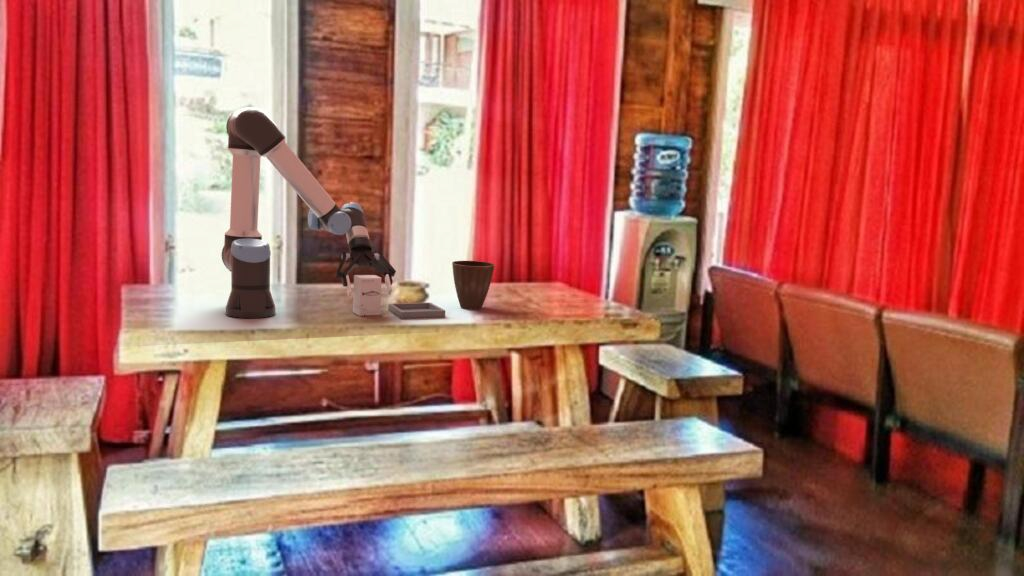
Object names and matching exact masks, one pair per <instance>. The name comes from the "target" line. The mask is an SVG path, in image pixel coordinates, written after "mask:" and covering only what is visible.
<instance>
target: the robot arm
mask: <svg viewBox="0 0 1024 576" xmlns="http://www.w3.org/2000/svg"><path fill="white" fill-rule="evenodd" d="M225 126H226V128H225V129H226V133H227V136H228V137H227V139H228V140H227V144H228V145H227V150H228V151H229V152H230V153H231V155H232V163H231V164H232V165H231V166H232V168H231V189H230V191H231V194H230V215H229V216H230V217H229V218H230V219H229V220H230V221H229V229H228V230H227V231H226V232H224V243H223V244H224V245H223V248H222V249H221V261H222V263H223V265H224V267H225V268H226V269H227V270H228V271H229V272H230V273H231V276H230V277H231V279H230V280H231V284H230V285H231V290H230V293H229V296H228V300H227V301H226V305H225V315H226V314H227V315H226V316H228V315H229V316H228V317H231V316H233V317H232V318H237V317H239V319H261V318H268V317H271V316H272V317H273V316H274V315H276V304H275V301H274V298H273V296H272V293H271V256H272V255H271V247H270V243H268V242H267V241H265V240H263V235H262V234H261V233H260V231H259V230H258V225H259V223H258V221H259V202H260V201H259V199H260V176H261V175H260V174H261V157H265V158H267V160H268V161H269V163H270V164H272V166H273V167H274V168H275V169H276V170H277V171H278V173H279V174H280V175H281V176H282V177H283V178H284V180H285V181H286V182H287V183H288V185H289V186H290V188H291V189H293V190H294V191H295V193H296V194H297V195H298V196H299V197H300V199H301V200H302V201H303V202H304V203H305V204H306V206H307V207H308V208H309V211H308V213H307V225H308V228H309V229H310V230H316V231H326V232H329V233H331V234H333V235H338V236H339V235H345V236H346V241H347V246H348V250H349V251H348V252H349V253H347V252H346V251H342V253H341V255H340V258H341V260H340V262H339V266H338V267H337V269H336V273H335V278H336V279H338V278H339V279H340V281H341V284H342V286H343V287H345V288H346V293H347V296H348V297H350V296H351V295H352V291H353V289H352V285H351V280H350V277H349V274H350V273H351V271H352V270H353V269H354V268H355V267H356V266H358V267H362V266H365V267H367V266H369V267H370V268H374V269H375V270H376V271H378V272H379V273H380V274H381V275H383V276H384V283H385V286H386V292H387V295H389V296H390V295H391V294H392V292H393V289H392V288H393V287H392V285H393V284H394V283H393V277H395V275H396V273H397V271H396V269H395V268H394V267H393V265H392V264H391V263H390V262H389V260H387V259H386V257H385V256H384V255H383V254H384V253H383V252H382V251H381V250H379V251H378V252H376V253H374V251H373V248H372V244H371V240H370V235H369V231H368V228H367V223H366V218H365V213H364V210H363V208H362V206H361V205H360V204H359V203H356V202H349V203H346V204H343V206H342V207H341V208H340V207H339V205H337V203H336V202H335V201H334V199H333V198H332V197H331V196H330V194H328V192H327V191H326V190H325V188H324V187H323V186H322V185H321V183H320V182H319V181H318V180H317V179H316V178H315V176H314V175H313V174H312V172H311V171H310V170H309V169H308V168H307V167H306V165H305V164H304V163H303V162H302V161H301V159H300V158H299V157H298V156H297V155H296V154H295V152H294V151H293V150H292V148H291V147H290V146H289V145H288V144H287V142H286V136H285V135H284V134H283V132H282V131H281V129H279V127H278V125H277V124H276V123H275V122H274V121H273V119H272V118H271V116H270V115H269V114H268V113H267V112H266V111H265V110H263V109H261V108H258V107H253V106H251V107H250V106H249V107H242V108H239V109H237V110H235V111H233V112H232V113H231V114H230V115H229V117H228V119H227V121H226V125H225ZM348 259H350V260H351V262H350V263H349V264H348V266H347V267H346V268H345V269H344V270H343V268H344V266H345V263H346V261H347V260H348ZM342 270H343V272H342Z"/></svg>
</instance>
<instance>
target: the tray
mask: <svg viewBox="0 0 1024 576" xmlns="http://www.w3.org/2000/svg"><path fill="white" fill-rule="evenodd" d="M387 305H388V306H387V307H388V308H387V309H388V311H387V312H389V313H391V314H392V315H394V316H396V317H397V318H399V319H400V320H411V319H412V320H417V319H418V320H419V319H422V320H423V319H443V318H444V319H445V318H446V310H445V309H444V308H441V307H439V306H438V305H436V304H434V303H433V302H402V303H401V302H399V303H388V304H387Z"/></svg>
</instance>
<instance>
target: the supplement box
mask: <svg viewBox="0 0 1024 576" xmlns="http://www.w3.org/2000/svg"><path fill="white" fill-rule="evenodd" d="M352 296H353V299H352V300H353V302H352V313H354V314H356V315H357V316H358V315H359V316H358V317H363V316H364V315H365V316H381V309H382V308H381V305H382V304H381V303H382V302H381V301H382V277H380V276H378V275H376V274H355V275H353V295H352Z"/></svg>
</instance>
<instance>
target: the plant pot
mask: <svg viewBox="0 0 1024 576" xmlns="http://www.w3.org/2000/svg"><path fill="white" fill-rule="evenodd" d="M451 266H452V274H453V283H454V288H455V292H456V296H457V299H458V303H459V306H460V308H461V309H464V310H470V309H472V310H473V309H477V310H481V309H482V308H483V305H484V303H485V300H486V298H487V296H488V293H489V290H490V286H491V282H492V279H493V276H494V270H495V264H494V263H492V262H488V261H487V262H486V261H480V260H479V261H478V260H455V261H452V264H451ZM472 310H471V311H472Z"/></svg>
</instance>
